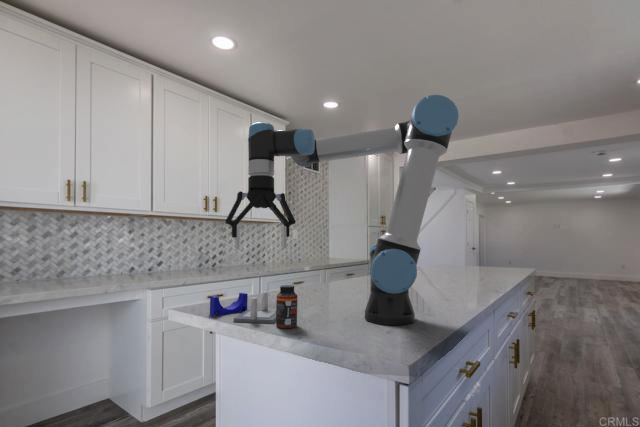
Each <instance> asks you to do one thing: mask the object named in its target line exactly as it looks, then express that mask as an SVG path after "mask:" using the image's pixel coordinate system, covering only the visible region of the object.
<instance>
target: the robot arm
mask: <svg viewBox="0 0 640 427" xmlns="http://www.w3.org/2000/svg"><path fill="white" fill-rule="evenodd" d="M458 121H459V110H458V107H457V105H456V104H455V103H454V102H453V100H451V98H449V97H447V96H445V95H441V94H430V95H427V96H425V97H422V98H421V99H420V100H419V101H417V103H416V104H415V106H414V107H413V109H412V111H411V116H410V119H409V120H407V121H404V122H398V123H396V125H395V126H394V127H388V128H379V129H375V130H368V131H361V132H355V133H347V134H342V135H335V136H328V137H321V138H316V139H315V134H314V131H313V130H312V129H310V128H296V129H283V130H282V129H280V130H277V129H276V130H275V126H274V125H273V124H271V123H268V122H262V121H261V122H255V123H254V122H253V123H252V124H250V126H249V128H248V138H247V142H248V145H247V146H248V171H247V172H248V175H249V176H248V178H247V179H248V180H247V181H248V186H247V187H248V189H247V190H248V191H247V192H243V191H242V190H241V191H238V192H237V194H236V200H235V202H234V204H233V205H232V207H231V210H230V211H229V214H228V215H227V217H226V219H225V221H224V223H225V224H226V225H229V226H231V238H235V248H234V249H235V250H237V251H238V250H240V248H241V247H240V245H241V244H240V239H241V230H240V229H241V227H240V225H239V226H238V224H239V223H240V222H241V221H242V219H244V217H245V216H246V215H247V214H248V213H249V211H251V209H252V208H255V209H267V208H268V209H270V211H272V213H273V214H274V215H275V217H276V218H277V219H278V220H279V221H280V223H281V224H282V225H283V226H280V227H281V231H280V232H281V236H280V238H281V245H280V246H281V249H287V238H289V237H290V227H291V226H292V225H294V224H296V223H297V222H296V219H295V218H294V215H293V213H292V211H291V209H290V207H289V205H288V203H287V200H286V194H285V193H283V192H282V193H277V194H276V193H275V178H274V176H275V157H290V158H291V159H292V160H293V162H294V163H295V164H297V165H298V166H300V167H303V168H306V167H307V168H308V167H310V166H312V165H313V164H317V163H323V162H330V161H336V160H337V161H338V160H344V159H352V158H358V157H365V156H366V157H367V156H373V155H379V154H387V153H393V152H397V153H398V154H399V155H402V154H403V155H405V154H406V156H405V158H404V159H405V160H404V163H403V167H402V171H401V174H400V175H401V176H400V178H399V182H398V186H397V190H396V192H395V197H394V201H393V203H392V204H393V205H392V208H391V212H390V216H389V219H388V223H387V226H386V230H385V232H384V234H382V235H380V236H378V238H377V243H374V244H372V245H371V246H370V252H369V256H370V257H369V258H370V260H369V261H370V262H369V263H370V264H369V265H370V267H369V271H370V272H369V274H370V294H369V297H368V301H367V303H366V306H365V309H364V319H365V320H366V321H367V322H371V323H374V324H379V325H386V326H387V325H388V326H403V325H410V324H413V323H415V322H416V316H415V315H416V314H415V310H414V307H413V303H412V300H411V298H410V294H409V291H410V290H409V289H410V288H411V287H412V286H413V285H414V283H415V281H416V279H417V276H418V266H417V265H418V261H419V257H420V254H421V251H422V250H421V249H422V248H421V247H420V245H419V243H418V238H419V234H420V231H421V227H422V223H423V219H424V216H425V212H426V208H427V204H428V200H429V196H430V193H431V189H432V185H433V182H434V178H435V174H436V171H437V166H438V162H439V159H440V158H441V157H442V156H443V155H445V154H446V153H447V152H448V148H449V145H450V144H449V143H450V140H451V137H452V134H453V131H454V129H455V128H456V126H457V124H458ZM245 198H246V199H247V200H248V202H249V203H248V204H247V205H246V206H245V207H244V208H243V210H241V212H240V213H239V215H237V217H236V218H235V219H234V220H233V218H234V216H235V214H236V213H237V211H238V209H239V206H240V205H241V203H242V201H243V200H245ZM275 199H276V200H277V201H278V202H279V204H280V206H281V208H282V211H283V212H284V214H285V215H284V214H283V213H282V212H281V210H280V209H279V208H278V207H277V205H276V204H275V203H274V201H275Z"/></svg>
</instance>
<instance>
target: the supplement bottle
mask: <svg viewBox="0 0 640 427" xmlns="http://www.w3.org/2000/svg"><path fill="white" fill-rule="evenodd" d="M279 291H280V292H279V293H278V294H277V295H276V307H275V308H276V309H275V311H276V321H275V326H276V328H279V329H293V328H295V327H297V325H298V294H297V293H296V292H295V285H291V284H285V285H284V284H283V285H280V287H279Z"/></svg>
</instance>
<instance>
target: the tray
mask: <svg viewBox="0 0 640 427" xmlns="http://www.w3.org/2000/svg"><path fill="white" fill-rule="evenodd" d="M258 301H259V300H258V297H250V309H247V311H244V312H241V313H239V315H237V316H235V317H234V318H233V323H254V324H255V323H256V324H274V323H276V310H269V291H262V292H261V309H260V310H259V309H258V304H259V303H258Z"/></svg>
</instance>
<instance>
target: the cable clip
mask: <svg viewBox="0 0 640 427" xmlns="http://www.w3.org/2000/svg"><path fill="white" fill-rule="evenodd" d="M248 295H249V294H248V293H247V292H239V293H238V298H237V300H236V301H233V302H232V303H230V304H229V305H228V306H226V307H223V306H222V304H221V301H220V297H219V296H216V295H210V297H209V299H210V300H209V315H210V316H212V317H218V316H219V317H220V316H226V315H230V314H238V313H243V312H245V311H247V310H248Z"/></svg>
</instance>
